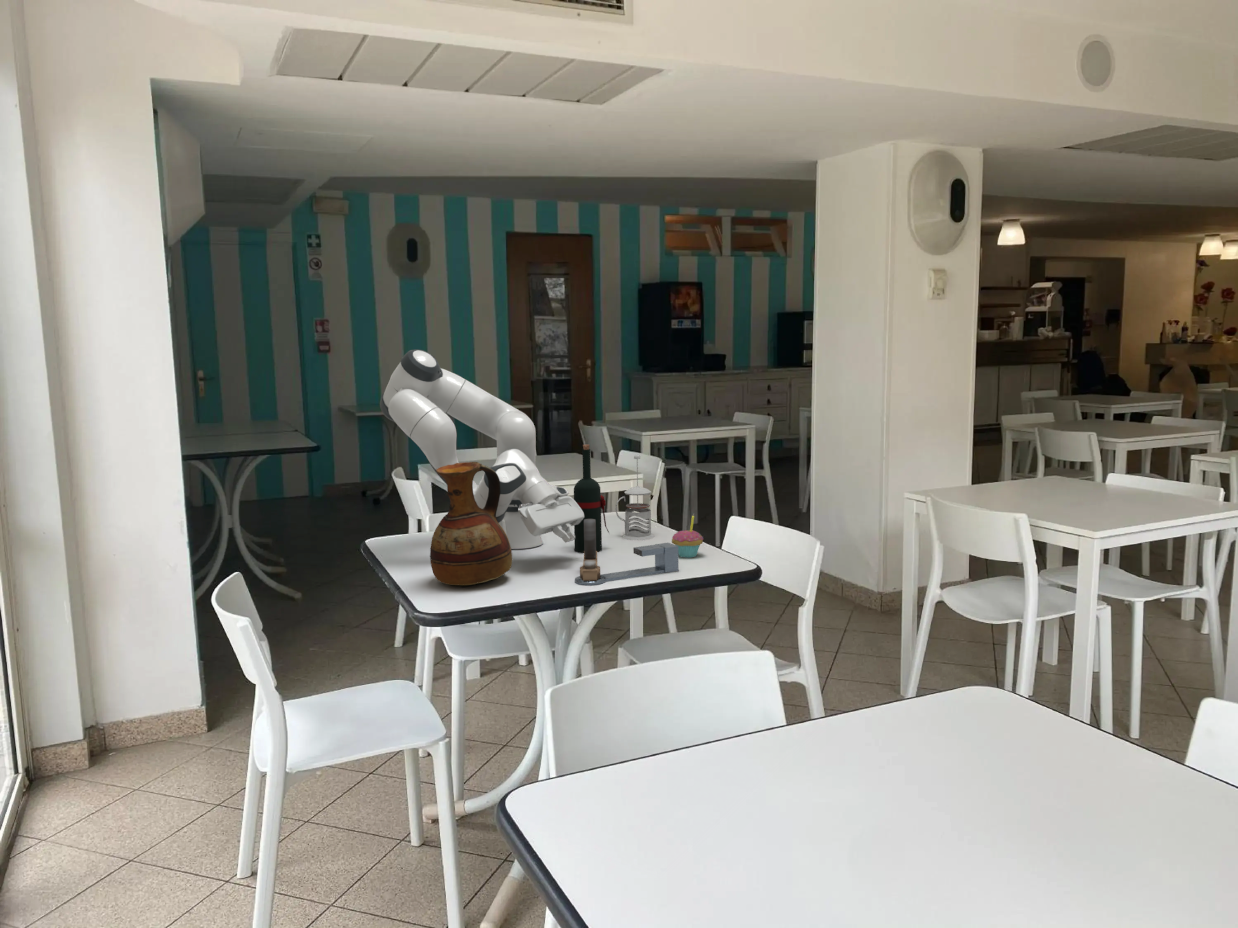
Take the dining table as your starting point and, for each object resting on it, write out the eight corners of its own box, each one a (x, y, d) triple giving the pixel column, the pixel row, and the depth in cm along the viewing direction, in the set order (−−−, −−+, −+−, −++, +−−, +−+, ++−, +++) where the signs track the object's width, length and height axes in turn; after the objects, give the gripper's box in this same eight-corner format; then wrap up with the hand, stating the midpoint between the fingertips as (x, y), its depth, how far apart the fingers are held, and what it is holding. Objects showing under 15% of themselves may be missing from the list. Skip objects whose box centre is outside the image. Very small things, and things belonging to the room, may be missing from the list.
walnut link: (600, 580, 226) (599, 529, 225) (579, 580, 226) (578, 530, 225) (600, 560, 247) (599, 513, 245) (581, 560, 247) (580, 514, 245)
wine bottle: (612, 551, 261) (610, 445, 257) (576, 553, 259) (574, 447, 255) (607, 545, 269) (605, 442, 265) (572, 547, 267) (570, 444, 263)
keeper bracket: (583, 586, 224) (582, 560, 223) (569, 580, 231) (569, 554, 230) (681, 571, 237) (681, 546, 236) (665, 565, 244) (665, 541, 243)
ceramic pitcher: (416, 581, 232) (410, 462, 228) (481, 567, 246) (477, 454, 242) (461, 596, 218) (456, 469, 214) (528, 579, 232) (525, 460, 228)
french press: (654, 540, 276) (653, 456, 273) (615, 540, 276) (614, 457, 273) (654, 533, 286) (653, 452, 282) (616, 533, 286) (615, 453, 283)
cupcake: (708, 554, 257) (708, 511, 255) (694, 560, 249) (694, 516, 248) (680, 551, 261) (680, 509, 259) (666, 557, 254) (665, 514, 252)
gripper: (521, 498, 237) (552, 539, 232) (569, 487, 253) (599, 526, 249) (508, 513, 240) (539, 555, 235) (557, 502, 256) (586, 540, 252)
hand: (570, 540), depth 242 cm, fingers closed
